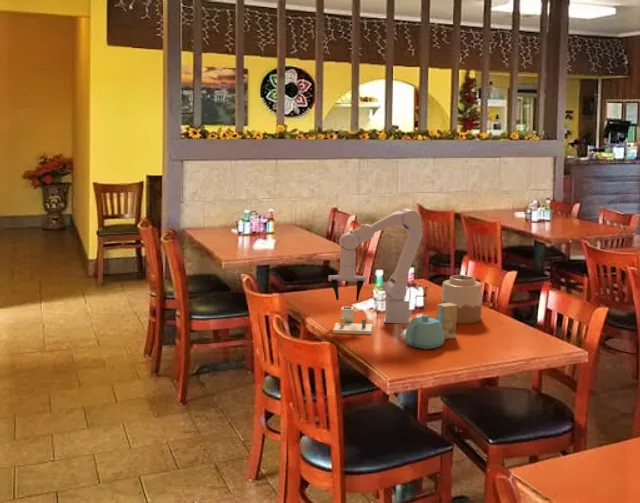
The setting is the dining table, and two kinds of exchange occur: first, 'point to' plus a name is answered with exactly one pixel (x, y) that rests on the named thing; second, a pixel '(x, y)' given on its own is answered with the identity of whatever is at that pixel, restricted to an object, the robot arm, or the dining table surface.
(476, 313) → the vase
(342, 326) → the pin board
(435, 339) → the teapot
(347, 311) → the teal banded block
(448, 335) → the skincare box
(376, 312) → the dining table surface
